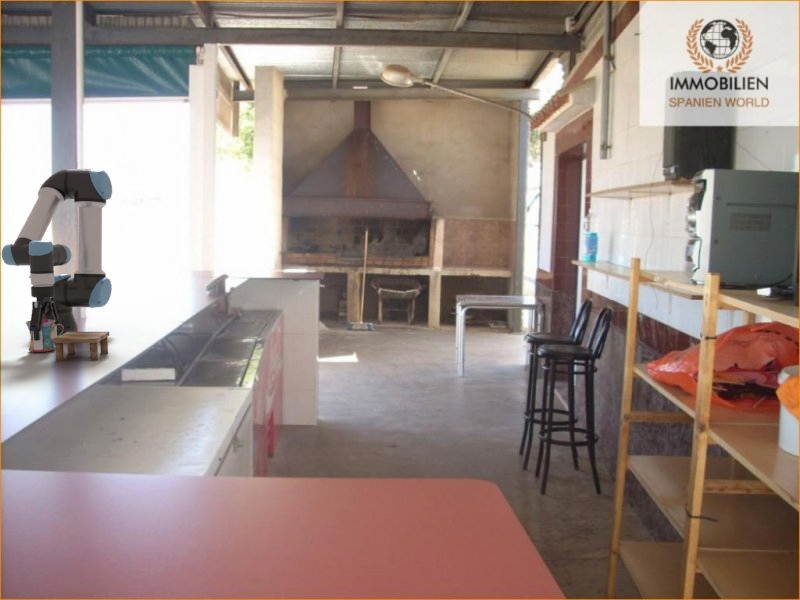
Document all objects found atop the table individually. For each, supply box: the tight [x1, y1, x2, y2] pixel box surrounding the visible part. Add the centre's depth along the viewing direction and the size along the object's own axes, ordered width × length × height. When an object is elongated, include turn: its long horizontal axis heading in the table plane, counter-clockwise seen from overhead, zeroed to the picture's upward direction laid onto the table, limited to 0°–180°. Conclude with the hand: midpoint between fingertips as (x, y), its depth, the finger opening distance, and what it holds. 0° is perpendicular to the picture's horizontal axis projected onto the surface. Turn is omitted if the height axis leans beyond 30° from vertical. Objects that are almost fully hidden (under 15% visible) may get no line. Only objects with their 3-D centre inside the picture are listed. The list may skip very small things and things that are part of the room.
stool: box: [52, 331, 110, 362], centre depth 257 cm, size 14×14×7 cm
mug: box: [25, 319, 64, 354], centre depth 267 cm, size 12×9×11 cm
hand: (45, 346), depth 267 cm, fingers open, 12 cm apart
